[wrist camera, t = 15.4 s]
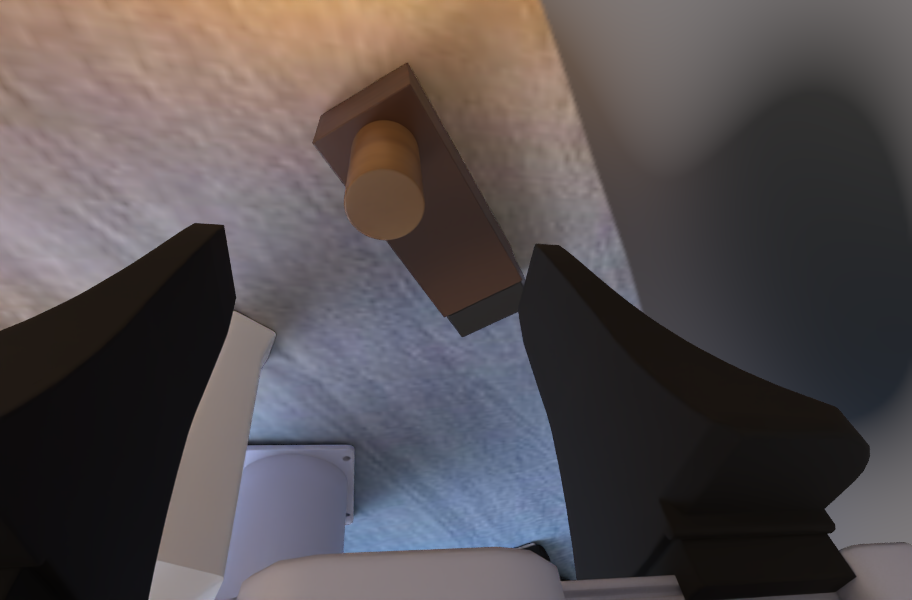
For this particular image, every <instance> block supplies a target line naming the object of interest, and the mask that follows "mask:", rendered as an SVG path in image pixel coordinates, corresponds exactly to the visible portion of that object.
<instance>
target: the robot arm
mask: <svg viewBox="0 0 912 600" xmlns="http://www.w3.org/2000/svg"><path fill="white" fill-rule="evenodd" d="M235 301H236V294H235V288H234V282H233V276H232V270H231V264H230V258H229V252H228V246H227V240H226V234H225V228H224V225H216V224H200V223H194V224H192V225H191V226H189V227H187V228H186V229H184V230H182V231H181V232H179V233H178V234H176V235H175V236H173V237H172V238H170V239H169V240H167V241H166V242H164V243H163V244H161V245H160V246H158V247H157V248H155V249H154V250H152V251H151V252H149V253H148V254H146V255H145V256H143V257H142V258H140V259H138V260H137V261H135V262H134V263H132V264H131V265H129V266H128V267H126V268H124V269H123V270H121V271H119V272H118V273H116V274H114V275H113V276H111V277H109V278H107V279H106V280H104V281H102V282H101V283H99V284H97V285H96V286H94V287H92V288H90V289H89V290H87V291H85V292H83V293H81V294H80V295H78V296H76V297H74V298H72V299H70V300H68V301H66V302H64V303H62V304H60V305H58V306H56V307H54V308H52V309H50V310H48V311H45V312H43V313H41V314H39V315H37V316H35V317H33V318H30V319H28V320H26V321H24V322H21V323H19V324H16V325H14V326H11V327H9V328H6V329H4V330H1V331H0V600H148V599H149V594H150V589H151V584H152V579H153V574H154V569H155V564H156V560H157V556H158V551H159V547H160V542H161V538H162V534H163V529H164V525H165V520H166V516H167V512H168V508H169V504H170V500H171V496H172V492H173V488H174V484H175V480H176V476H177V472H178V469H179V465H180V462H181V458H182V454H183V451H184V447H185V444H186V440H187V436H188V433H189V430H190V427H191V424H192V421H193V419H194V416H195V413H196V411H197V408H198V406H199V403H200V401H201V398H202V396H203V394H204V391H205V389H206V386H207V384H208V381H209V379H210V377H211V374H212V372H213V369H214V367H215V364H216V362H217V359H218V357H219V354H220V352H221V349H222V347H223V344H224V342H225V339H226V337H227V334H228V330H229V326H230V322H231V318H232V314H233V309H234V305H235ZM518 313H519V319H520V326H521V331H522V337H523V342H524V345H525V349H526V352H527V355H528V358H529V361H530V364H531V368H532V371H533V374H534V377H535V380H536V383H537V386H538V389H539V392H540V395H541V398H542V401H543V404H544V407H545V410H546V413H547V416H548V420H549V423H550V427H551V431H552V435H553V440H554V445H555V450H556V455H557V459H558V464H559V469H560V475H561V480H562V486H563V491H564V497H565V502H566V509H567V515H568V522H569V528H570V535H571V541H572V548H573V555H574V563H575V571H576V579H577V580H575V581H560V577H559V573H558V569H557V566H555V565H554V564H552V563H551V562H549V561H547V560H546V559H544V558H542V557H541V556H539V555H537V554H536V553H534V552H532V551H530V550H525V549H514V548H504V547H481V548H457V549H433V550H409V551H385V552H360V553H343V548H344V534H345V525H349V524H351V523H353V514H354V459H355V449H354V447H353V446H351V445H247V450H246V456H245V461H244V467H243V473H242V478H241V484H240V490H239V495H238V501H237V507H236V512H235V518H234V523H233V529H232V535H231V540H230V546H229V552H228V557H227V563H226V569H225V574H224V580H223V582H222V584H221V587H220V589H219V591H218V593H217V595H216V597H215V599H214V600H912V545H911V544H908V543H905V542H896V543H874V544H858V545H853V546H849V547H847V548H843V549H841V550H838V549H837V547H836V546H835V544H834V543H833V542H832V540H831V539H830V537H829V536H828V534H827V533H832V532H833V531H834V530H835V524H834V522H833V521H832V519H831V518H830V517H829V515H828V514H827V512H826V511H825V508H826V507H827V506H828V505H829V504H830V503H831V502H832V501H834V500H835V499H836V498H837V497H838V496H839V495H840V494H841V493H842V492H843V491H844V490H845V489H847V488H848V487H849V486H850V485H851V484H852V483H853V482H854V481H855V480H856V479H857V478H858V476H860V474H861V473H862V472H863V471H864V469H865V467H866V465H867V463H868V461H869V457H870V447H869V445H868V444H867V443H866V441H865V440H864V439H863V437H862V436H861V435H860V434H859V433H858V432H857V430H856V429H855V428H854V427H853V426H852V425H851V423H850V422H849V421H848V420H847V419H846V417H845V416H844V415H843V414H842V413H841V411H840V410H839V409H838V408H836V407H835V406H832V405H829V404H826V403H824V402H821V401H818V400H816V399H813V398H810V397H807V396H805V395H802V394H799V393H797V392H794V391H791V390H788V389H786V388H783V387H780V386H778V385H775V384H773V383H771V382H769V381H766V380H764V379H762V378H759V377H757V376H755V375H752V374H750V373H748V372H745V371H743V370H741V369H739V368H737V367H735V366H733V365H731V364H728V363H727V362H724V361H723V360H721V359H719V358H717V357H715V356H713V355H711V354H709V353H707V352H705V351H704V350H702V349H700V348H698V347H696V346H694V345H693V344H691V343H689V342H687V341H686V340H684V339H682V338H681V337H679V336H678V335H676V334H674V333H673V332H671V331H670V330H668V329H666V328H665V327H663V326H662V325H660V324H659V323H657V322H656V321H654V320H653V319H651V318H650V317H648V316H647V315H645V314H644V313H643V312H641V311H640V310H639V309H637V308H636V307H635V306H633V305H632V304H631V303H629V302H628V301H627V300H625V299H624V298H623V297H622V296H620V295H619V294H618V293H616V292H615V291H614V290H613V289H612V288H610V287H609V286H608V285H607V284H606V283H604V282H603V281H602V280H601V279H600V278H598V277H597V276H596V275H595V274H594V273H592V272H591V271H590V270H589V269H588V268H587V267H586V266H584V265H583V264H582V263H581V262H580V261H578V260H577V259H576V258H575V257H574V256H573V255H571V254H570V253H569V252H568V251H566V250H565V249H564V248H562V247H561V246H559V245H547V244H535V246H534V250H533V254H532V258H531V261H530V265H529V269H528V272H527V276H526V280H525V284H524V287H523V291H522V295H521V298H520V302H519V306H518Z"/></svg>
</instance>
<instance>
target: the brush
mask: <svg viewBox="0 0 912 600" xmlns="http://www.w3.org/2000/svg"><path fill="white" fill-rule="evenodd" d="M313 145H314V146H315V147H316V149H317V150H318V151H319V152H320V154H321V155H322V156H323V158H324V159H325V160H326V162H327V163H328V164H329V166H330V167H331V168H332V170H333V171H334V172H335V174H336V175H337V176H338V178H339V179H340V180H341V182H342V183H343V184H344V186H345V187H346V188H345V195H344V209H345V213H346V215H347V217H348V219H349V221H350V222H351V224H352V225H353V226H354V227H355V228H356V229H357V230H358V231H360V232H361V233H362V234H364V235H366V236H368V237H371V238H374V239H379V240H386V241H387V242H388V244H389V245H390V246H391V248H392V249H393V250H394V252H395V253H396V254H397V256H398V257H399V258H400V260H401V261H402V262H403V264H404V265H405V266H406V268H407V269H408V270H409V272H410V273H411V274H412V276H413V277H414V278H415V280H416V281H417V282H418V283H419V285H420V286H421V287H422V289H423V290H424V291H425V293H426V294H427V295H428V297H429V298H430V299H431V301H432V302H433V303H434V305H435V306H436V307H437V309H438V310H439V311H440V313H441V314H442V315H443V317H447V318H448V319H449V321H450V322H451V323H452V325H453V326H454V327H455V329H456V330H457V331H458V333H459V334H460V335H461V337H465V336H467V335H469V334H471V333H473V332H475V331H478V330H480V329H482V328H484V327H486V326H488V325H491V324H493V323H495V322H497V321H499V320H501V319H503V318H506V317H508V316H510V315H512V314H514V313H516V312H518V306H519V302H520V298H521V295H522V291H523V287H524V284H525V278H524V275H523V272H522V270H521V269H520V267H519V265H518V263H517V262H516V260H515V257H514V254H513V251H512V248H511V246H510V244H509V242H508V240H507V238H506V237H505V235H504V233H503V231H502V230H501V228H500V226H499V224H498V222H497V221H496V219H495V217H494V215H493V213H492V212H491V210H490V208H489V206H488V205H487V203H486V201H485V199H484V197H483V196H482V194H481V192H480V190H479V188H478V187H477V185H476V183H475V181H474V180H473V178H472V176H471V174H470V172H469V171H468V169H467V167H466V165H465V164H464V162H463V160H462V158H461V156H460V155H459V153H458V151H457V149H456V147H455V146H454V144H453V142H452V140H451V139H450V137H449V135H448V133H447V131H446V130H445V128H444V126H443V124H442V122H441V121H440V119H439V117H438V115H437V114H436V112H435V110H434V108H433V106H432V105H431V103H430V101H429V99H428V97H427V96H426V94H425V92H424V90H423V89H422V87H421V85H420V83H419V81H418V80H417V78H416V76H415V74H414V73H413V71H412V69H411V67H410V65H409V64H408V63H405V64H404V65H402V66H400V67H399V68H397V69H395V70H394V71H392V72H391V73H389V74H387V75H386V76H384V77H383V78H381V79H379V80H378V81H376V82H374V83H373V84H371V85H370V86H368V87H366V88H365V89H363V90H361V91H360V92H358V93H357V94H355V95H353V96H352V97H350V98H349V99H347V100H345V101H344V102H342V103H340V104H339V105H337V106H336V107H334V108H332V109H331V110H329V111H327V112H326V113H324V114H323V115H321V116H320V120H319V123H318V126H317V130H316V133H315V136H314V139H313Z"/></svg>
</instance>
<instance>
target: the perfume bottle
mask: <svg viewBox="0 0 912 600" xmlns="http://www.w3.org/2000/svg"><path fill="white" fill-rule="evenodd" d="M275 337H276V333H275V332H274V331H272V330H270V329H268V328H267V327H265V326H263V325H261V324H259V323H257V322H255V321H253V320H251V319H250V318H248V317H246V316H244V315H242V314H240V313H238V312H236V311H233V314H232V318H231V322H230V326H229V330H228V334H227V337H226V339H225V342H224V344H223V347H222V349H221V352H220V354H219V357H218V359H217V362H216V364H215V367H214V369H213V372H212V374H211V377H210V379H209V381H208V384H207V386H206V389H205V391H204V394H203V396H202V398H201V401H200V403H199V406H198V408H197V411H196V413H195V416H194V419H193V421H192V424H191V427H190V430H189V433H188V436H187V440H186V444H185V447H184V451H183V454H182V458H181V462H180V465H179V469H178V472H177V476H176V480H175V484H174V488H173V492H172V496H171V500H170V504H169V508H168V512H167V516H166V520H165V525H164V529H163V534H162V538H161V542H160V547H159V551H158V556H157V560H156V564H155V569H154V574H153V579H152V584H151V589H150V594H149V599H148V600H214V599H215V597H216V595H217V593H218V591H219V589H220V587H221V584H222V582H223V580H224V574H225V569H226V563H227V557H228V552H229V546H230V540H231V535H232V529H233V523H234V518H235V512H236V507H237V501H238V495H239V490H240V484H241V478H242V473H243V467H244V461H245V456H246V450H247V444H248V439H249V433H250V428H251V422H252V416H253V411H254V405H255V399H256V394H257V388H258V382H259V377H260V371H261V369H262V367H263V366H264V364H265V363H266V361H267V359H268V356H269V353H270V351H271V348H272V345H273V343H274V340H275Z"/></svg>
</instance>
